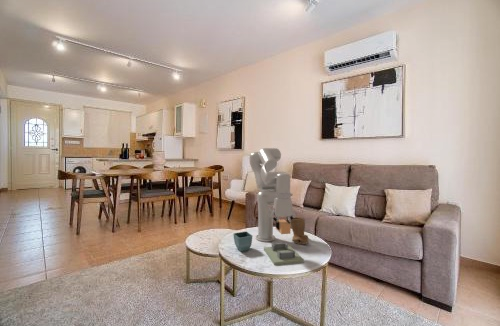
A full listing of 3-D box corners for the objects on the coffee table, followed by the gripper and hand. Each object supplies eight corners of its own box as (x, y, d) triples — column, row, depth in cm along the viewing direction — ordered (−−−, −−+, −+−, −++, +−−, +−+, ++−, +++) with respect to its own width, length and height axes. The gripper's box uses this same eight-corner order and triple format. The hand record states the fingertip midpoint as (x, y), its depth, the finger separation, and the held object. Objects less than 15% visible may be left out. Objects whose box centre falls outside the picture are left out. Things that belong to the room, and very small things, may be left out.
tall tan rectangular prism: (275, 228, 142) (275, 219, 142) (283, 227, 143) (284, 219, 143) (281, 234, 132) (281, 224, 132) (290, 233, 133) (290, 224, 133)
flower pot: (238, 253, 141) (238, 237, 141) (232, 248, 149) (233, 233, 149) (252, 251, 145) (252, 235, 144) (246, 245, 153) (246, 231, 152)
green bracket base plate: (263, 249, 146) (263, 242, 146) (289, 247, 150) (289, 240, 150) (274, 265, 127) (274, 256, 127) (303, 262, 130) (303, 253, 130)
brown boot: (290, 236, 171) (291, 214, 170) (308, 237, 167) (309, 215, 167) (287, 244, 156) (288, 220, 155) (307, 246, 153) (307, 221, 152)
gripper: (295, 194, 142) (294, 225, 143) (266, 195, 139) (265, 227, 140) (300, 196, 135) (300, 230, 136) (270, 197, 131) (269, 231, 132)
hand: (282, 228), depth 138 cm, fingers closed on tall tan rectangular prism, 5 cm apart
